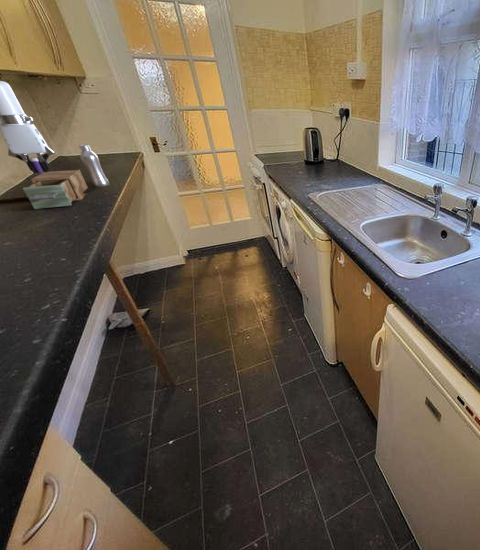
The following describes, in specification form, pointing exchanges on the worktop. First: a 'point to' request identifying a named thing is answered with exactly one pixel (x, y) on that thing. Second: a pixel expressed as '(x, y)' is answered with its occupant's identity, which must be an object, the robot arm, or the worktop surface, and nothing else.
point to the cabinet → (72, 175)
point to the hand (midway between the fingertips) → (41, 171)
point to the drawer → (50, 193)
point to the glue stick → (37, 164)
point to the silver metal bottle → (93, 166)
